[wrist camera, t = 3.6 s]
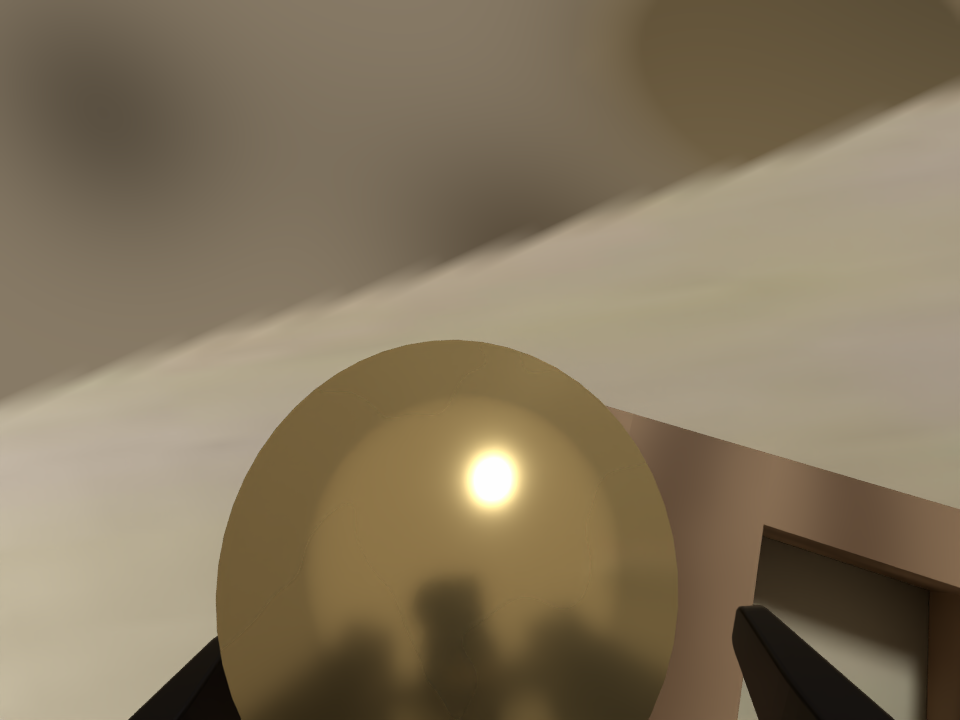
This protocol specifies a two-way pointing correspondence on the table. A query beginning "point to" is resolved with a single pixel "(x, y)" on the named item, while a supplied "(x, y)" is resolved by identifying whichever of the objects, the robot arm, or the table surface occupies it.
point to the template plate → (792, 520)
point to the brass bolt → (448, 550)
